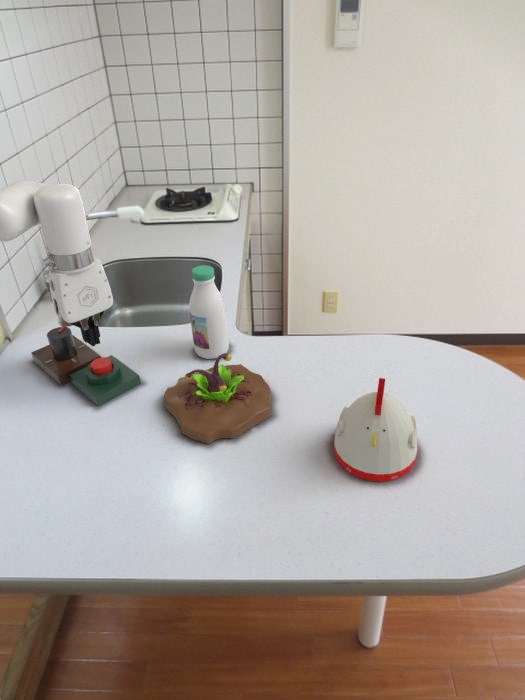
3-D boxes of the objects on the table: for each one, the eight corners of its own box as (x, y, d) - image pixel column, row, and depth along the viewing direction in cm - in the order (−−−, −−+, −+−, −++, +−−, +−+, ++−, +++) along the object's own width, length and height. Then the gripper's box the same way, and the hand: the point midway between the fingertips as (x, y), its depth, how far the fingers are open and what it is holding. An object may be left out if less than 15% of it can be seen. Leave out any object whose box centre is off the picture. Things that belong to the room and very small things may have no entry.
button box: (72, 383, 110) (67, 368, 108) (113, 362, 116) (109, 347, 114) (98, 406, 104) (93, 390, 101) (141, 383, 109) (137, 368, 107)
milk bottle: (224, 338, 122) (216, 258, 111) (233, 355, 116) (225, 273, 105) (192, 344, 121) (180, 265, 109) (199, 363, 114) (187, 280, 103)
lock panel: (34, 361, 118) (30, 351, 116) (74, 343, 123) (72, 333, 122) (60, 385, 110) (57, 375, 108) (103, 365, 115) (100, 355, 114)
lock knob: (69, 361, 113) (62, 339, 109) (48, 358, 114) (41, 336, 111) (81, 348, 117) (75, 326, 113) (61, 346, 118) (55, 324, 115)
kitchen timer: (327, 473, 87) (330, 403, 78) (340, 418, 98) (343, 352, 89) (414, 488, 83) (427, 416, 75) (417, 430, 94) (428, 361, 86)
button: (89, 370, 108) (87, 363, 107) (106, 361, 110) (104, 354, 109) (99, 378, 105) (97, 371, 104) (116, 369, 108) (114, 362, 107)
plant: (290, 415, 99) (289, 367, 93) (195, 455, 91) (187, 405, 85) (242, 363, 114) (238, 319, 107) (156, 393, 106) (147, 348, 100)
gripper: (41, 277, 87) (67, 366, 98) (119, 250, 96) (135, 334, 106) (22, 263, 92) (48, 350, 102) (98, 239, 100) (115, 321, 111)
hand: (92, 342), depth 104 cm, fingers closed
